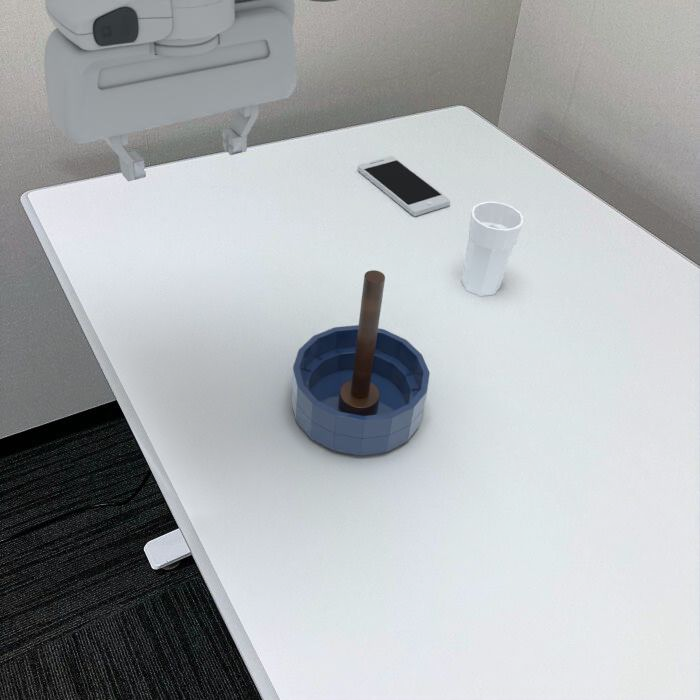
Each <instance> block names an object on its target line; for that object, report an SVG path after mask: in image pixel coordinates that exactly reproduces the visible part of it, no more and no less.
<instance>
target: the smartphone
mask: <svg viewBox="0 0 700 700" xmlns="http://www.w3.org/2000/svg"><path fill="white" fill-rule="evenodd" d="M357 171H358V172H359V173H360V174H361V175H363V176H364V177H365V178H366V179H367V180H368V181H370V182H371V183H372V184H374V185H375V186H376V187H377V188H378V189H380V190H381V191H382V192H383V193H385V194H386V195H387V196H388V197H389V198H390V199H392V200H393V201H394V202H395V203H397V204H398V205H400V207H402V208H403V209H404V210H405V211H406V212H408V213H409V214H410V215H411V216H414V217H418V216H421V215H424V214H427V213H430V212H433V211H436V210H440V209H443V208H447V207H449V206H450V204H451V200H450V199H449V197H447V196H446V195H444V193H442V192H440V191H439V190H438V189H437V188H435V187H434V186H433V185H431V183H429V182H427V181H426V180H425V179H424V178H422V177H421V176H420V175H418V174H417V173H416V172H414V171H413V170H412V169H410V168H409V167H408V166H407V165H405V164H404V163H403V162H402V161H400V160H399V159H398V158H396V157H395V156H393V155H390V156H386V157H383V158H380V159H376V160H371V161H367V162H364V163H360V164H358V165H357Z"/></svg>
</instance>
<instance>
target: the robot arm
mask: <svg viewBox="0 0 700 700" xmlns="http://www.w3.org/2000/svg"><path fill="white" fill-rule="evenodd" d="M309 1H311V2H319V3H327V2H336V1H337V2H338V0H309ZM44 6H45V11H46V13H47V16H48V18H49V19H50V21H51V22H52V24H53V25H54V27H55V28H54V29H53V30H52V31H51V33H50V34H49V36H48V37H47V39H46V43H45V46H44V55H43V56H44V57H43V58H44V59H43V60H44V61H43V62H44V80H45V90H46V98H47V106H48V110H49V115H50V118H51V121H52V122H53V124H54V125H55V127H56V128H57V129H58V131H59V132H60V133H61V134H62V135H63V136H65V137H66V138H67V139H69V140H70V141H71V142H73V143H74V144H77V145H83V144H87V143H91V142H97V141H101V140H104V142H106V144H107V145H108V146H109V147H110V148H111V149H112V150H113V152H114V153H115V154H116V155H117V156H118V162H119V168H120V173H121V174H122V176H123V177H124V179H125V180H126V181H127V182H132V181H136V180H140V179H144V178H146V177H147V176H146V175H147V174H146V173H147V172H146V170H145V168H146V162H145V159H144V158H143V157H142V156H141V155H140V154H139V152H138V151H137V150H131V151H130V150H129V151H127V150H126V149H125V148H124V147H123V146H128V145H129V143H130V141H129V134H132V133H136V132H142V131H145V130H150V129H155V128H159V127H164V126H168V125H173V124H177V123H182V122H186V121H190V120H194V119H199V118H204V117H209V116H213V115H216V114H223V113H226V112H231V111H235V110H236V112H235V115H234V118H233V119H232V122H231V124H230V127H228V128H225V129H222V130H221V137H222V138H223V140H222V147H223V149H224V151H225V152H227V153H228V155H229V156H235V155H238V154H242V153H246V152H247V150H248V143H247V142H248V140H247V139H248V135H249V134H250V133H251V130H252V128H253V126H254V124H255V122H256V121H257V119H258V117H259V113H260V111H259V109H260V107H259V105H262V104H267V103H272V102H276V101H280V100H284V99H288V98H289V97H290V96H291V95H292V93H293V91H294V90H295V88H296V87H297V84H298V66H297V50H296V44H295V43H296V42H295V36H294V30H293V27H294V23H295V7H296V6H295V0H44Z"/></svg>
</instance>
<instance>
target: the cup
mask: <svg viewBox="0 0 700 700" xmlns="http://www.w3.org/2000/svg"><path fill="white" fill-rule="evenodd" d="M524 221H525V220H524V216H523V213H521V212H520V211H519V210H518V209H517V208H515V207H514V206H512V205H510V204H507V203H503V202H500V201H484V202H479V203H478V204H475V205H473V206H472V209H471V213H470V220H469V224H468V230H467V231H468V237H467V238H468V239H467V244H466V252H465V259H464V263H463V264H464V265H463V270H462V277H461V283H462V285H463V287H464V289H465V290H466V292H469V293H472V294H474V295H476V296H478V297H485V296H487V297H488V296H494V295H496V293H497V292H498V291H499V289H500V288H501V284H502V281H503V279H504V275H505V274H506V273H505V272H506V270H507V267H508V263H509V261H510V258H511V255H512V252H513V249H514V246H515V245H516V244H517V241H518V238H519V236H520V233H521V230H522V227H523V223H524Z"/></svg>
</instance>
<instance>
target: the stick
mask: <svg viewBox="0 0 700 700" xmlns="http://www.w3.org/2000/svg"><path fill="white" fill-rule="evenodd" d="M385 281H386V276H385V274H384V273H383V272H382V271H380V270H374V269H372V270H368V271H366V272H365V273H364V274H363V284H362V293H361V300H360V310H359V319H358V325H359V326H358V334H357V343H356V352H355V360H354V369H353V377H352V380H350V381H348V382H346V383H344V384H343V385H342V387H341V389H340V395H339V408H340V410H341V412H345V413H350V414H356V415H361V416H369V415H374V414H375V413H376V412H377V410H378V404H379V397H380V393H379V390H378V388H377V387H376V386H375V385H374V384H373V383H371V376H372V368H373V361H374V354H375V347H376V340H377V333H378V328H379V325H380V319H381V318H380V317H381V312H382V311H381V310H382V303H383V296H384V289H385Z"/></svg>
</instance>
